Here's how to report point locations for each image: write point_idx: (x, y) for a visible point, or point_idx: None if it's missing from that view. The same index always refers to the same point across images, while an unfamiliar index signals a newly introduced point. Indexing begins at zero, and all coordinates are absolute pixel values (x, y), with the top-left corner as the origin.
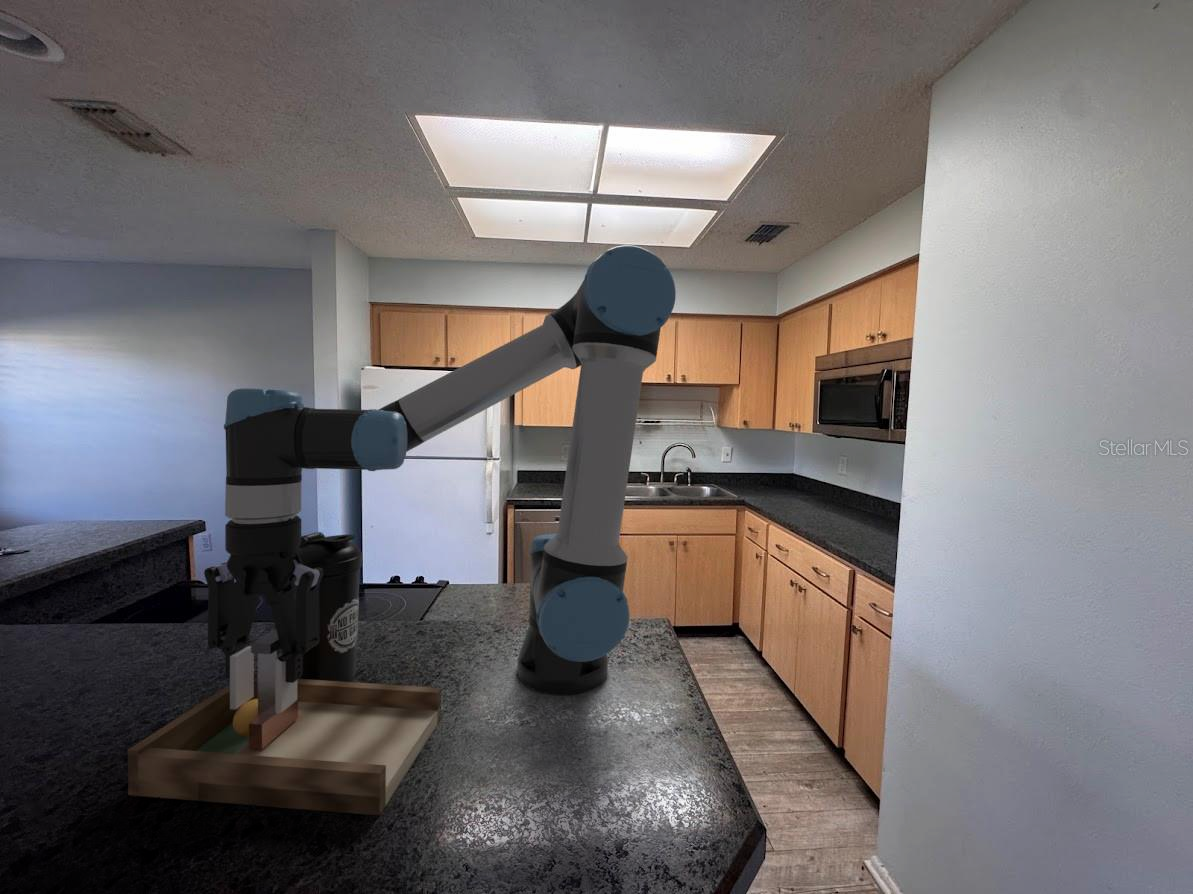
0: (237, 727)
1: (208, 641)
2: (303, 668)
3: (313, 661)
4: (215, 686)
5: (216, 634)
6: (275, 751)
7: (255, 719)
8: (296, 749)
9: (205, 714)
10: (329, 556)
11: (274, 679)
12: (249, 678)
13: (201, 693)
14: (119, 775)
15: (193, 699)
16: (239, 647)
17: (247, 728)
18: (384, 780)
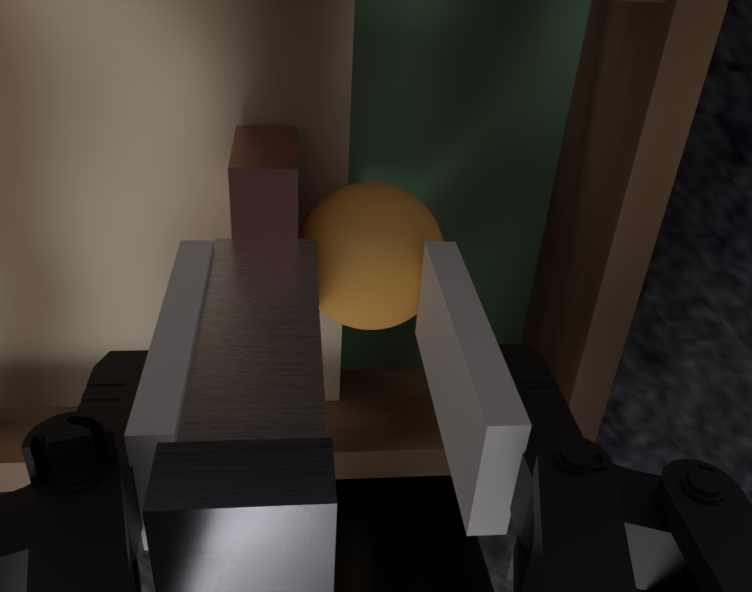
0: (388, 189)
1: (742, 499)
2: (407, 536)
3: (368, 566)
4: (717, 456)
5: (710, 553)
6: (183, 130)
7: (293, 201)
8: (101, 148)
9: (590, 255)
10: None
11: (209, 346)
12: (436, 378)
13: (740, 423)
14: (746, 29)
15: (746, 396)
16: (521, 502)
17: (341, 190)
18: None
